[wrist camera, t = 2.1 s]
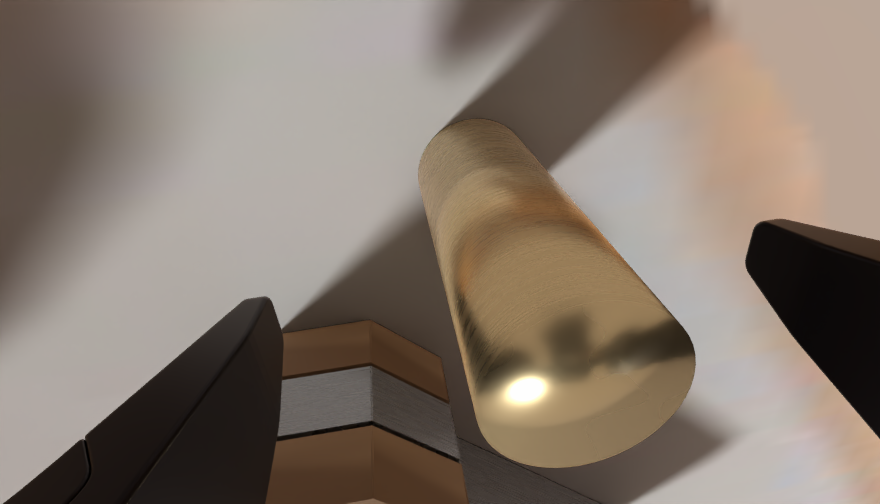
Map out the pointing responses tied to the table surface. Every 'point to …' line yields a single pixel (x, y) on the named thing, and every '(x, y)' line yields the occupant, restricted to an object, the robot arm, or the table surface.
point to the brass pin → (545, 307)
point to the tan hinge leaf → (362, 428)
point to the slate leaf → (409, 430)
